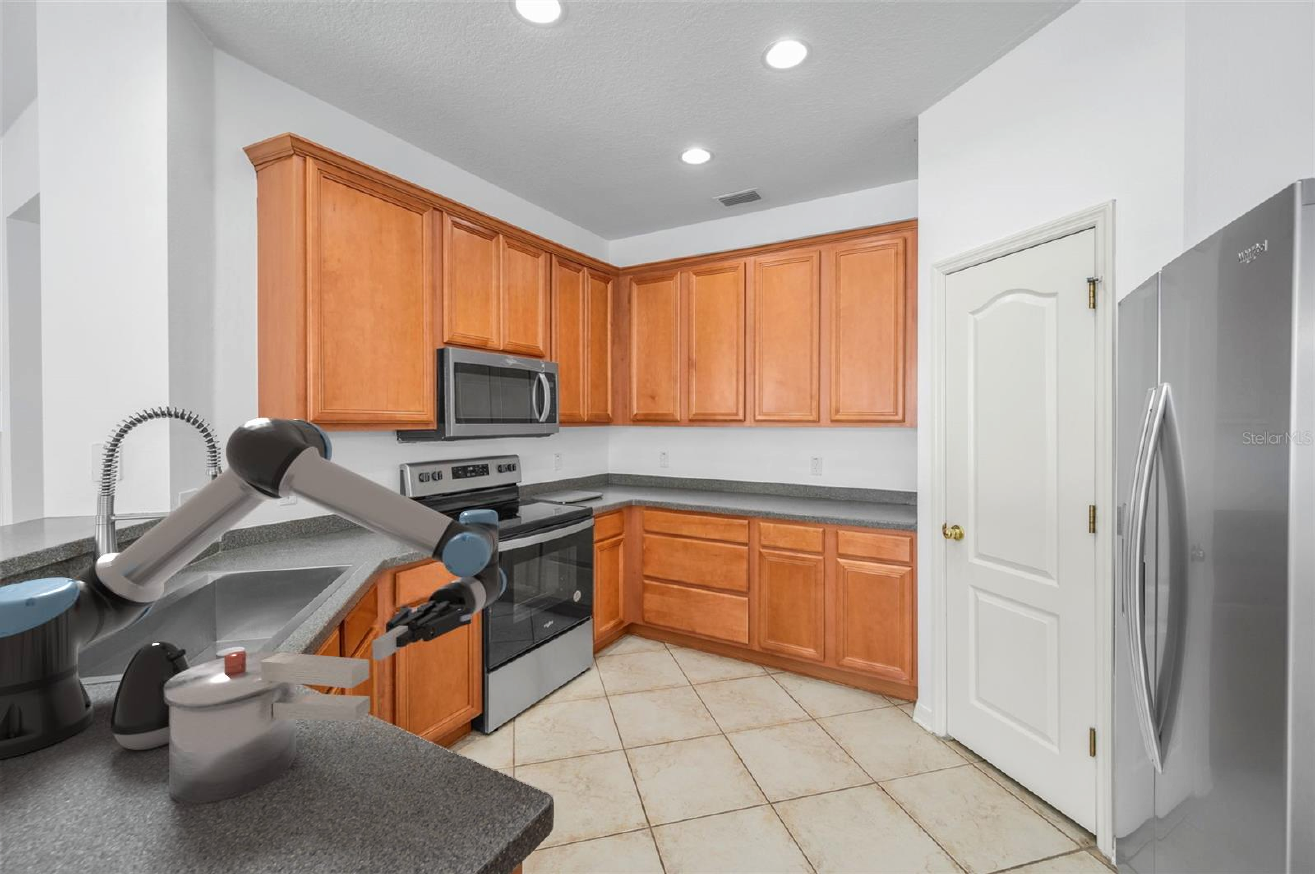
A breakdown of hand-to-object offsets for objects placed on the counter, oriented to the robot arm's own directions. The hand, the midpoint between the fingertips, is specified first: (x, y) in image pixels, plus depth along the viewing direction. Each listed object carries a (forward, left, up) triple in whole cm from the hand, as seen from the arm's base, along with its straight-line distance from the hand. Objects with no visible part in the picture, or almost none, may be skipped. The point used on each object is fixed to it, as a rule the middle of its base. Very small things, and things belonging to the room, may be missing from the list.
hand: (377, 650), depth 80 cm
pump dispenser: (-38, +2, -16) cm, 41 cm away
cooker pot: (-13, -4, -16) cm, 21 cm away
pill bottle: (-36, +13, -16) cm, 41 cm away
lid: (-13, -4, -4) cm, 14 cm away
